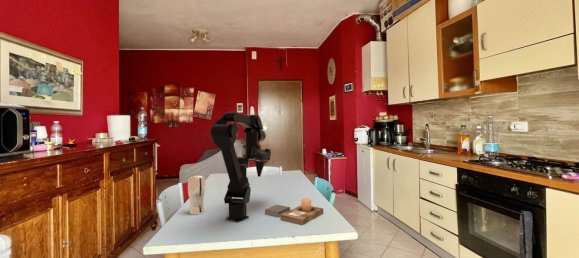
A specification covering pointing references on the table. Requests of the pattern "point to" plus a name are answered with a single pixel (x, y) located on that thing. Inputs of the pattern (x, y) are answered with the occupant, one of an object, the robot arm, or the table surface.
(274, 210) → the tab
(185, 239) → the table surface
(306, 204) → the peg
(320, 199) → the table surface
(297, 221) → the hole plate
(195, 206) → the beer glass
